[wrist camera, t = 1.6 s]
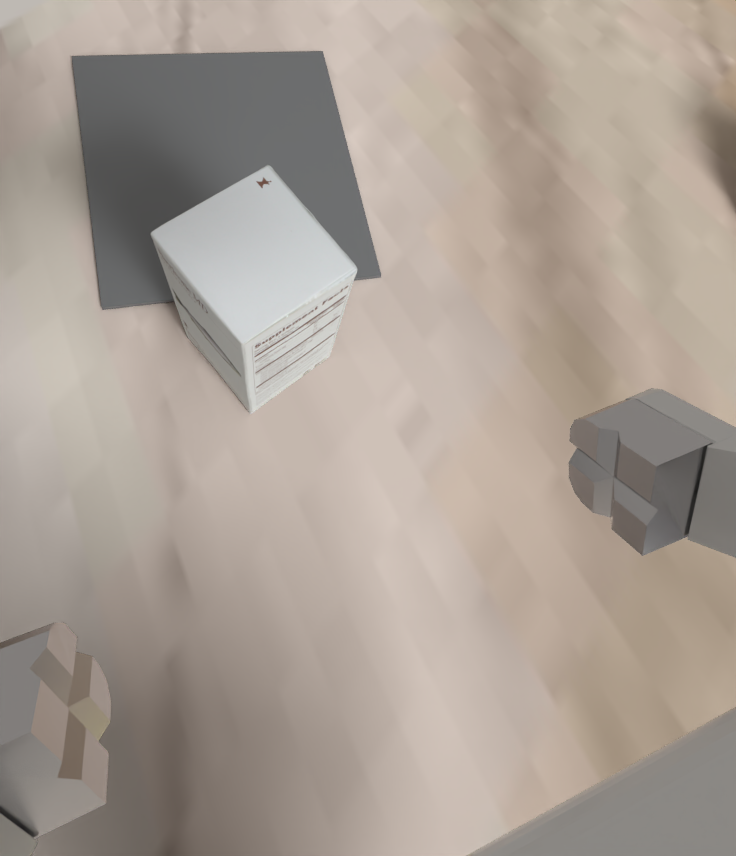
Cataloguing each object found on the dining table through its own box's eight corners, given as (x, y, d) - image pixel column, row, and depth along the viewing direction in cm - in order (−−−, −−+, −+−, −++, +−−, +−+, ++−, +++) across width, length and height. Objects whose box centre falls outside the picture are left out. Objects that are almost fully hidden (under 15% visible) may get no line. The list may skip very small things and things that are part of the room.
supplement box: (184, 337, 37) (142, 227, 25) (270, 282, 39) (270, 156, 27) (249, 419, 36) (239, 347, 24) (333, 359, 39) (362, 265, 26)
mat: (380, 277, 41) (381, 275, 41) (102, 309, 37) (101, 307, 37) (322, 54, 46) (322, 51, 46) (73, 59, 42) (71, 55, 42)
